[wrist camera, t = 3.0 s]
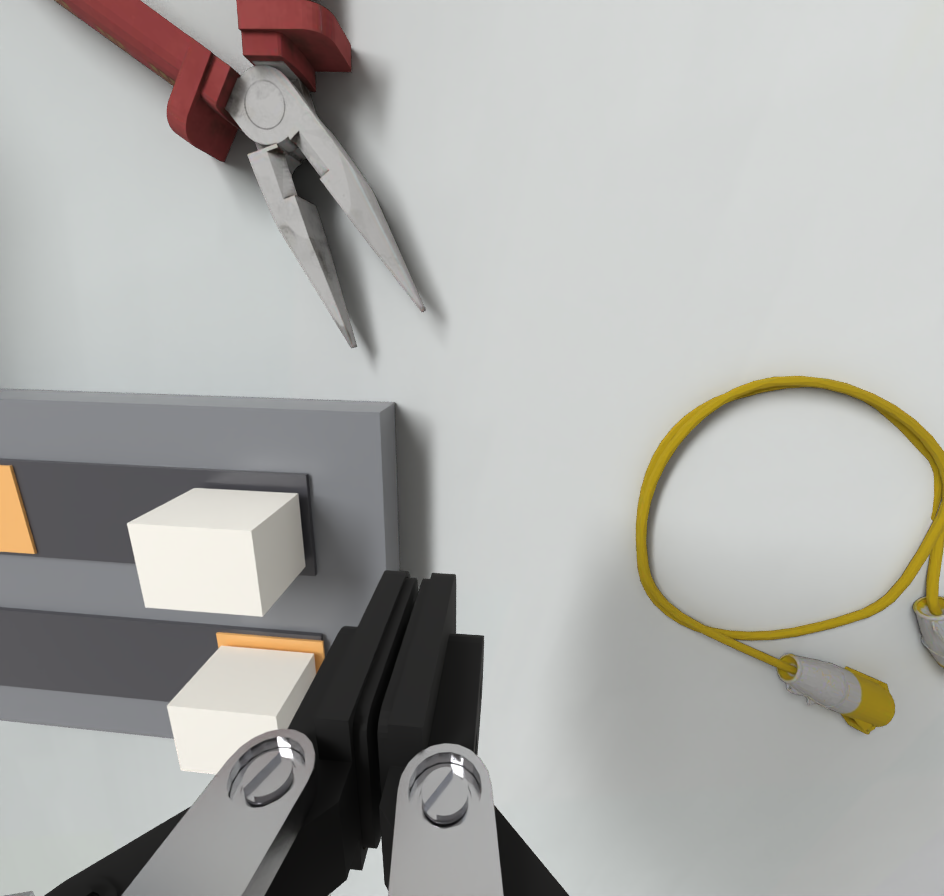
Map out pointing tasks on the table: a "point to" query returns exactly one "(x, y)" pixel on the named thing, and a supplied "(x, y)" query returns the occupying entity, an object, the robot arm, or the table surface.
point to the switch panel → (145, 488)
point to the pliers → (264, 118)
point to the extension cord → (818, 680)
